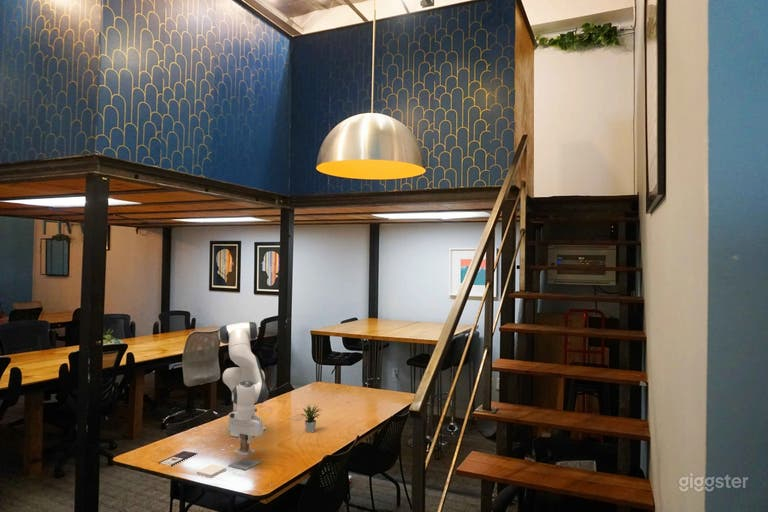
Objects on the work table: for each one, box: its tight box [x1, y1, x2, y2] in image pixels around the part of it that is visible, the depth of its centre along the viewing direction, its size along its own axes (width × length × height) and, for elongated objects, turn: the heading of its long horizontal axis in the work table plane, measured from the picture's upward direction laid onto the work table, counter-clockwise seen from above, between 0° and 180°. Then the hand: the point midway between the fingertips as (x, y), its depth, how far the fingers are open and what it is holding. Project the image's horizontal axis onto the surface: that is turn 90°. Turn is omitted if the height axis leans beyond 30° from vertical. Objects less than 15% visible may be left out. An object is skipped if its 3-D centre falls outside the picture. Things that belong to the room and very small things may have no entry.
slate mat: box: [228, 458, 261, 471], centre depth 244 cm, size 11×11×1 cm
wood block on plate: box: [233, 434, 256, 456], centre depth 244 cm, size 6×8×13 cm
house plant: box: [300, 403, 323, 433], centre depth 298 cm, size 14×14×16 cm
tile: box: [196, 463, 227, 479], centre depth 234 cm, size 2×9×10 cm
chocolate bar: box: [157, 450, 199, 467], centre depth 251 cm, size 9×1×18 cm
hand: (244, 442), depth 244 cm, fingers closed on wood block on plate, 3 cm apart
